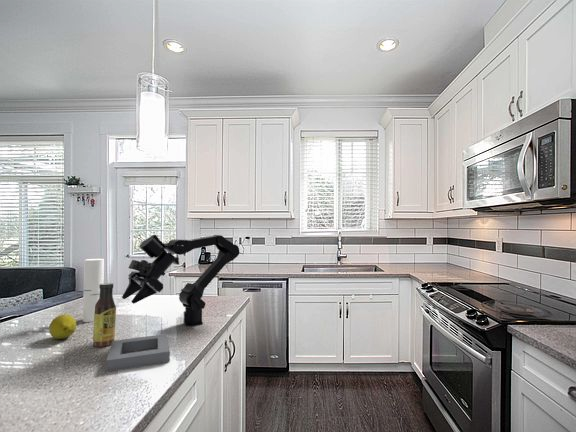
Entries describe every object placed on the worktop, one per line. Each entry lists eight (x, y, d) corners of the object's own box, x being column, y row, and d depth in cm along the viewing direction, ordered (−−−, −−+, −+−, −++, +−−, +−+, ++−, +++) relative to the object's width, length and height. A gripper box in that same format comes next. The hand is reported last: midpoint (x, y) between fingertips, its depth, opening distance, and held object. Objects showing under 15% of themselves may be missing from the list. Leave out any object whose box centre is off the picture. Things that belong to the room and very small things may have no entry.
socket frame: (166, 343, 105) (166, 333, 106) (169, 361, 91) (169, 351, 91) (112, 350, 99) (112, 340, 99) (106, 371, 84) (106, 360, 84)
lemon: (50, 335, 112) (51, 313, 112) (77, 332, 116) (77, 310, 116) (45, 345, 103) (46, 321, 103) (74, 341, 107) (75, 317, 107)
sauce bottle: (104, 348, 100) (106, 286, 101) (88, 347, 102) (89, 285, 102) (119, 341, 107) (120, 282, 107) (103, 340, 108) (105, 281, 109)
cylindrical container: (88, 317, 135) (89, 258, 136) (105, 316, 136) (107, 258, 137) (78, 322, 128) (80, 260, 129) (97, 321, 129) (98, 260, 130)
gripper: (134, 250, 121) (101, 282, 112) (155, 253, 107) (119, 290, 99) (154, 268, 126) (124, 301, 118) (176, 273, 113) (144, 310, 105)
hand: (127, 300), depth 110 cm, fingers open, 9 cm apart
